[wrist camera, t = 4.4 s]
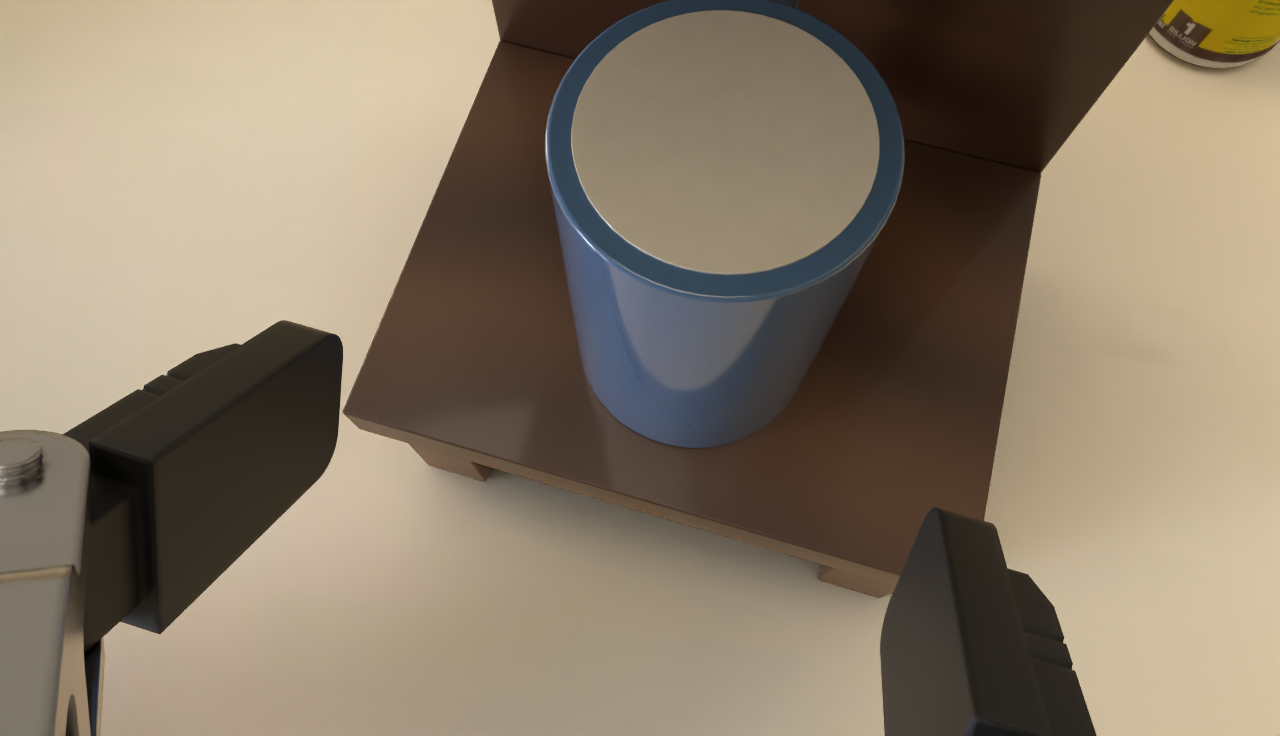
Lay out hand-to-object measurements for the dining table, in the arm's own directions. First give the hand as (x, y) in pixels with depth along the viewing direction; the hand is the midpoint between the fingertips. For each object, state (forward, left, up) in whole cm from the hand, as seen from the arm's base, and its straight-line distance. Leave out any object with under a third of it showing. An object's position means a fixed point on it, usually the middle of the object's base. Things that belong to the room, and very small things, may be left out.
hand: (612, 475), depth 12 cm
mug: (-7, +4, -10) cm, 12 cm away
